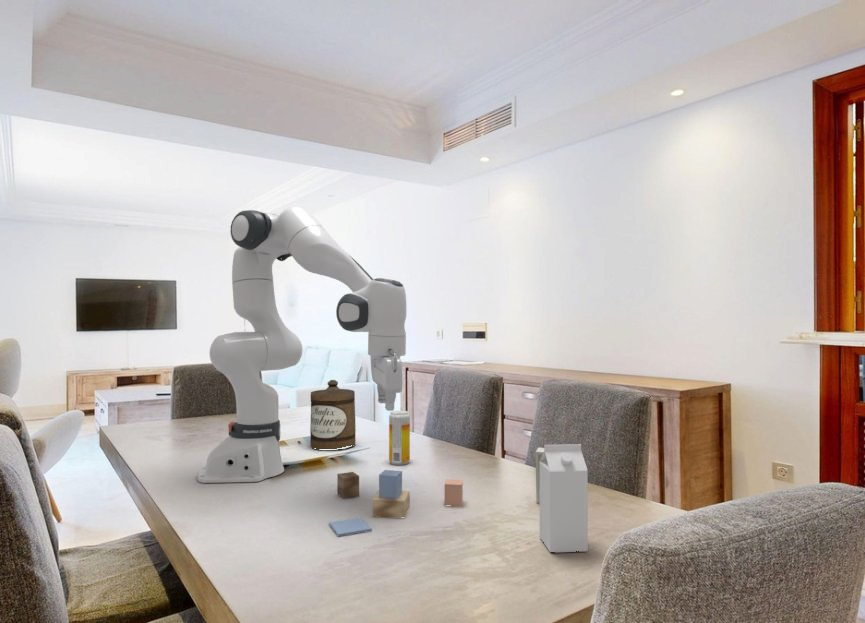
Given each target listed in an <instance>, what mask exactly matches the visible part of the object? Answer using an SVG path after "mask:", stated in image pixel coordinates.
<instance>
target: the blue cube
mask: <svg viewBox="0 0 865 623" xmlns="http://www.w3.org/2000/svg"><path fill="white" fill-rule="evenodd" d="M402 490H403V470H391V469H384V470H383V471H382V472H381V473H379V475H378V491H379V498H388V499H397V498H398V497H399V496H400V495H401V494H402Z"/></svg>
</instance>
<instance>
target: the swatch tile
mask: <svg viewBox="0 0 865 623" xmlns="http://www.w3.org/2000/svg"><path fill="white" fill-rule="evenodd" d="M329 525H330V526H329ZM328 526H329V527H330V528H331V529H333V530H334V531H335V532H334V531H333V530H332V531H333V532H334V534H335V533H336V534H337V535H338V536H340V537H343V536H342V535H346V536H349V535H348V534H352V535H355V534H354V533H358V534H361V533H360V532H363V533H366V532H365V531H369V532H371V531H370V530H372V531H373V528H372V527H371V526H370V525H369V524H368V523H367V522H366V521H365V519H364V518H362V517H354V518H347V519H342V520H336V521H330V522H329V521H328ZM336 534H335V535H336ZM337 535H336V536H337ZM338 536H337V537H338Z"/></svg>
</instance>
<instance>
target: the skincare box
mask: <svg viewBox="0 0 865 623" xmlns="http://www.w3.org/2000/svg"><path fill="white" fill-rule="evenodd" d="M543 453H544V447H537V448H536V450H535V454H534V455H535V458H534V459H535V490H536V492H535V495H536V496H535V497H536V500H535V501H536V504H540V462H539V461H540V459H541V457H542V455H543Z"/></svg>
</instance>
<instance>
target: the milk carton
mask: <svg viewBox="0 0 865 623" xmlns="http://www.w3.org/2000/svg"><path fill="white" fill-rule="evenodd" d="M543 448H544V453H543V455H542V457H541V459H540V461H539V462H540V503H539V538H540V540H541V541H542V543H543V542H544V543H543V545H544V546H545V547H546V549H547V550H548V551H549V553H551V552H555V553H573V552H574V553H576V551H577V553H578V551H579V552H582V553H583V552H588V548H589V547H588V546H589V545H588V544H589V542H588V540H589V539H588V538H589V535H588V533H589V530H588V529H589V528H588V527H589V524H588V521H589V518H588V516H589V515H588V514H589V511H588V510H589V509H588V507H589V506H588V505H589V502H588V501H589V499H588V498H589V496H588V493H589V492H588V488H589V487H588V485H589V484H588V483H589V482H588V479H589V478H588V473H589V472H588V467H587V464H586V461H585V458H584V454H583V452H582V444H581V443H580V444H577V443H575V444H574V443H573V444H572V443H570V444H568V443H567V444H544V447H543Z"/></svg>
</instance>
